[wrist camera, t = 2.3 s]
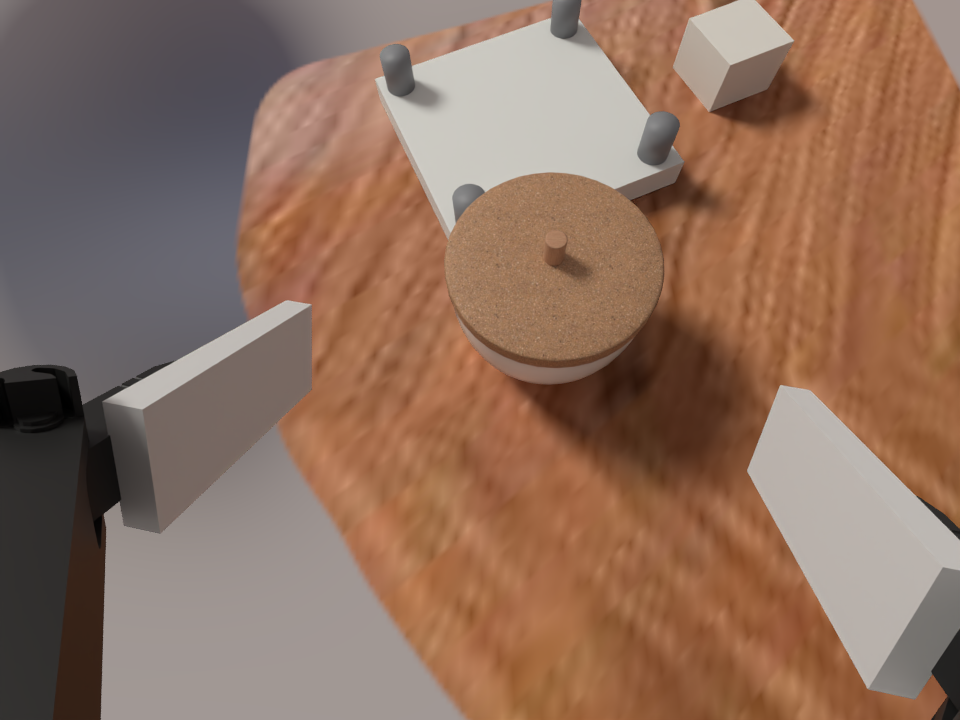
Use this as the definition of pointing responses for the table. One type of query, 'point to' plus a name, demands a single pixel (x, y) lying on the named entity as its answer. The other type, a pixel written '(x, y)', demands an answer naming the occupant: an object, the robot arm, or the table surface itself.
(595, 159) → the grey stand
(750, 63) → the plain off-white block
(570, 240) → the lidded jar
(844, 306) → the table surface
